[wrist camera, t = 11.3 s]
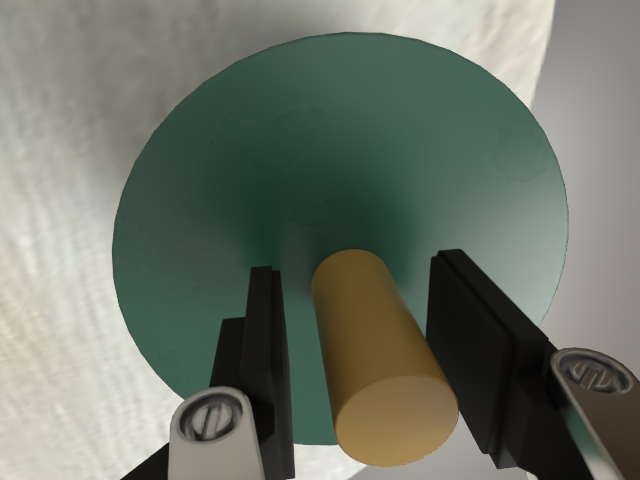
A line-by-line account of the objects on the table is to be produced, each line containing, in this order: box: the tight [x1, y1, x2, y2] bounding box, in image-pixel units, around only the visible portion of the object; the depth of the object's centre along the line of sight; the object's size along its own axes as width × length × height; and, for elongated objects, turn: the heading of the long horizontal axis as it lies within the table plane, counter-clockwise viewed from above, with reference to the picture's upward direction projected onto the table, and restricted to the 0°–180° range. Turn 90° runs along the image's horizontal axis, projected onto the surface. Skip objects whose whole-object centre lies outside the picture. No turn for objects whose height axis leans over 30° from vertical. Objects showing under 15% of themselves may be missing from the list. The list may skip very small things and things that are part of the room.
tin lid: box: [112, 32, 568, 467], centre depth 11 cm, size 14×14×6 cm
